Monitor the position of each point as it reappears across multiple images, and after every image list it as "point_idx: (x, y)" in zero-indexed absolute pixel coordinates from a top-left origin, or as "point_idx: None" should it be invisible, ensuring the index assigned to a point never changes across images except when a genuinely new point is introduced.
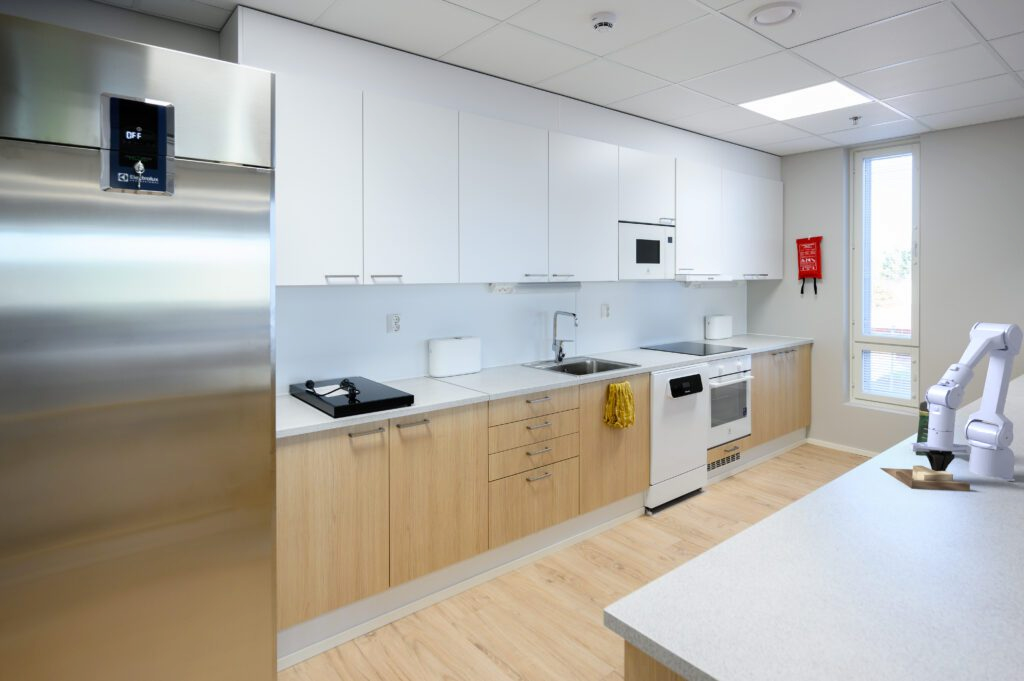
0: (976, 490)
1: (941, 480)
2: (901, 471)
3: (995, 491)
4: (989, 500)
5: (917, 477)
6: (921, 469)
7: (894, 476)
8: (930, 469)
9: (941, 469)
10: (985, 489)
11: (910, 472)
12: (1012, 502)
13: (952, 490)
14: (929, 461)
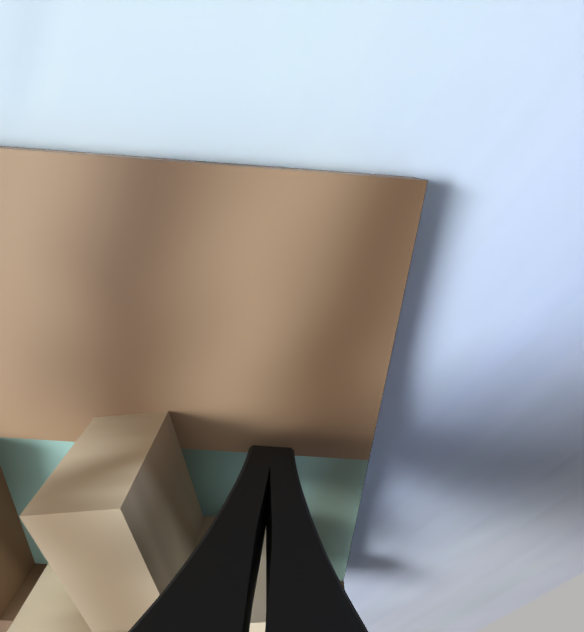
0: (456, 506)
1: None
2: (57, 255)
3: (562, 514)
4: (390, 606)
5: (39, 585)
6: (69, 588)
7: None
8: (150, 596)
9: (266, 583)
10: (534, 490)
11: (138, 283)
12: (483, 619)
13: None
14: (184, 570)
